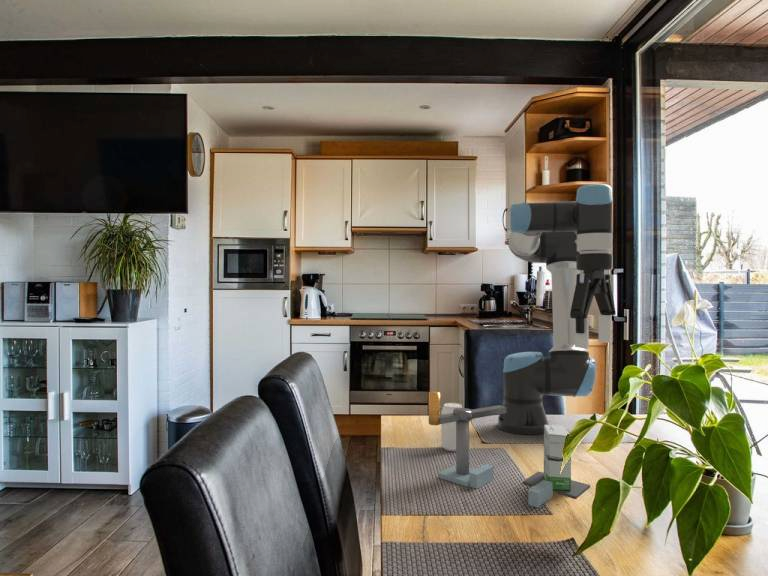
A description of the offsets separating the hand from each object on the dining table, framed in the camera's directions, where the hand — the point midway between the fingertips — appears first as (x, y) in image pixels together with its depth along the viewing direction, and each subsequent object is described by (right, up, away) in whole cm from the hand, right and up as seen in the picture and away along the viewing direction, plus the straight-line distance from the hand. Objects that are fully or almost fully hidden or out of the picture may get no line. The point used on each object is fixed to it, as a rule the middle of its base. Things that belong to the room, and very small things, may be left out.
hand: (593, 345), depth 114 cm
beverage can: (-30, -31, +20) cm, 47 cm away
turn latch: (-29, -17, +1) cm, 34 cm away
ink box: (-10, -30, -4) cm, 32 cm away
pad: (-10, -31, -4) cm, 32 cm away
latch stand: (-24, -31, -5) cm, 39 cm away
